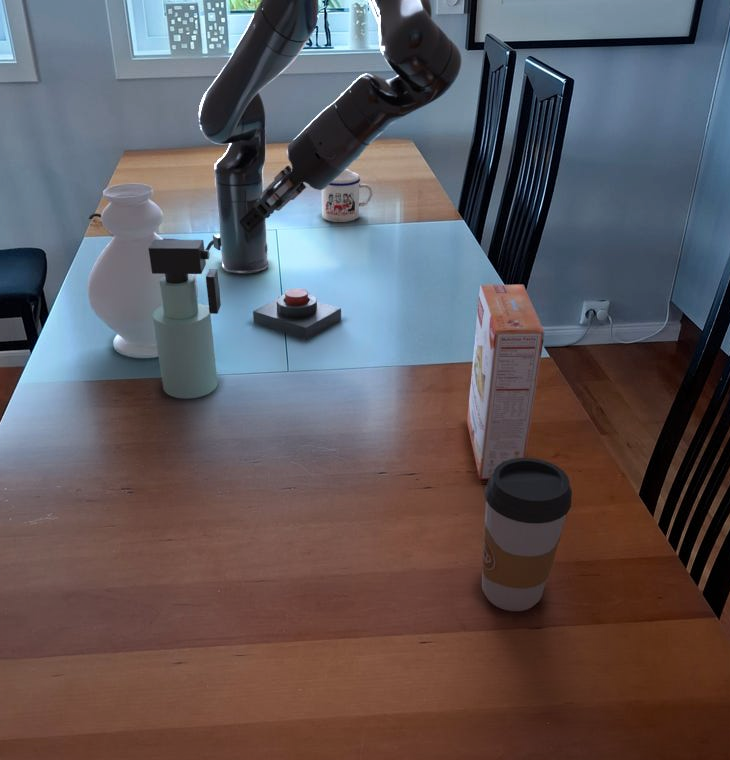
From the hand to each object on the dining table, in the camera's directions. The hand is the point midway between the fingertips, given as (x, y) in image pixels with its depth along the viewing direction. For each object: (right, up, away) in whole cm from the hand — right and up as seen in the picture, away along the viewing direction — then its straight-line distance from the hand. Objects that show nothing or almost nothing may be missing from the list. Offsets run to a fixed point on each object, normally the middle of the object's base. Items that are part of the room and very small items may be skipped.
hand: (245, 226), depth 120 cm
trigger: (-4, -13, -2) cm, 14 cm away
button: (+7, -6, +22) cm, 24 cm away
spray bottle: (-9, -23, +6) cm, 25 cm away
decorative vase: (-18, -13, +19) cm, 29 cm away
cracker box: (+34, -34, -10) cm, 50 cm away
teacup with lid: (+17, +27, +71) cm, 78 cm away
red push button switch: (+7, -8, +24) cm, 26 cm away
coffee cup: (+32, -51, -32) cm, 68 cm away
